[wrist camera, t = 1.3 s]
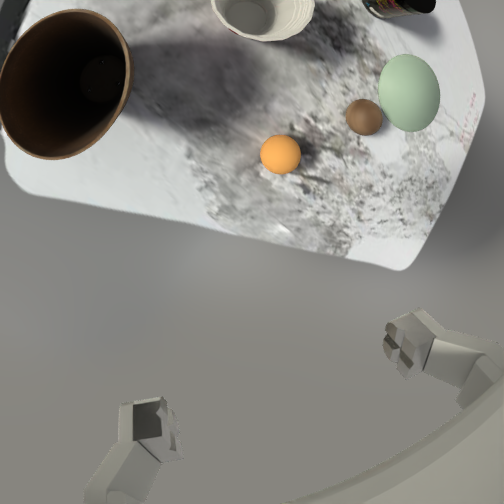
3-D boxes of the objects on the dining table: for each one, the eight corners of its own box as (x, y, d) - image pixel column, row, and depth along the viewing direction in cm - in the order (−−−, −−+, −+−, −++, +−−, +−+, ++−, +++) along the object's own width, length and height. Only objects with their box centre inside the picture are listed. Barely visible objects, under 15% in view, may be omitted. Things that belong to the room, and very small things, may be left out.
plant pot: (174, 93, 35) (159, 101, 22) (88, 148, 37) (39, 188, 24) (128, 11, 27) (90, -20, 14) (44, 72, 28) (-21, 81, 15)
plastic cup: (301, 22, 32) (337, 7, 22) (245, 66, 35) (262, 61, 25) (249, -28, 26) (267, -60, 16) (189, 16, 29) (186, -7, 19)
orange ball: (285, 125, 40) (296, 132, 36) (299, 157, 43) (312, 168, 39) (250, 141, 41) (257, 150, 36) (266, 173, 44) (275, 186, 39)
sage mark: (427, 48, 34) (428, 48, 34) (445, 119, 42) (446, 119, 42) (366, 64, 36) (367, 64, 36) (391, 142, 44) (391, 142, 44)
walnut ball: (364, 92, 39) (383, 96, 34) (374, 124, 42) (393, 131, 37) (334, 104, 39) (351, 108, 35) (346, 136, 42) (363, 145, 38)
